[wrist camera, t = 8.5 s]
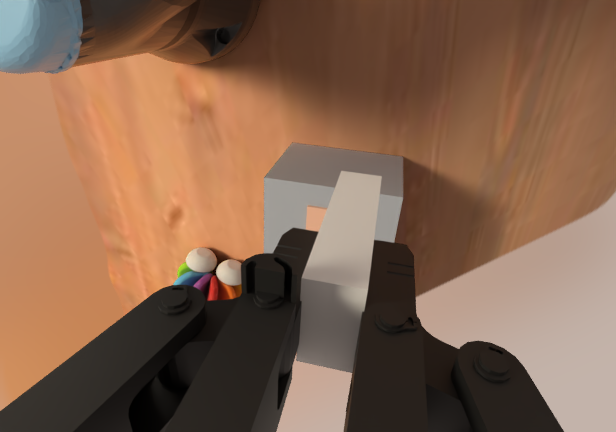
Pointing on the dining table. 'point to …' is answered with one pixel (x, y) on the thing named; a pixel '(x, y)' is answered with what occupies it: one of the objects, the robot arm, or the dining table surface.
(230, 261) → the rainbow disc toy
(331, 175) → the socket block
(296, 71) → the dining table surface
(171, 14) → the robot arm
